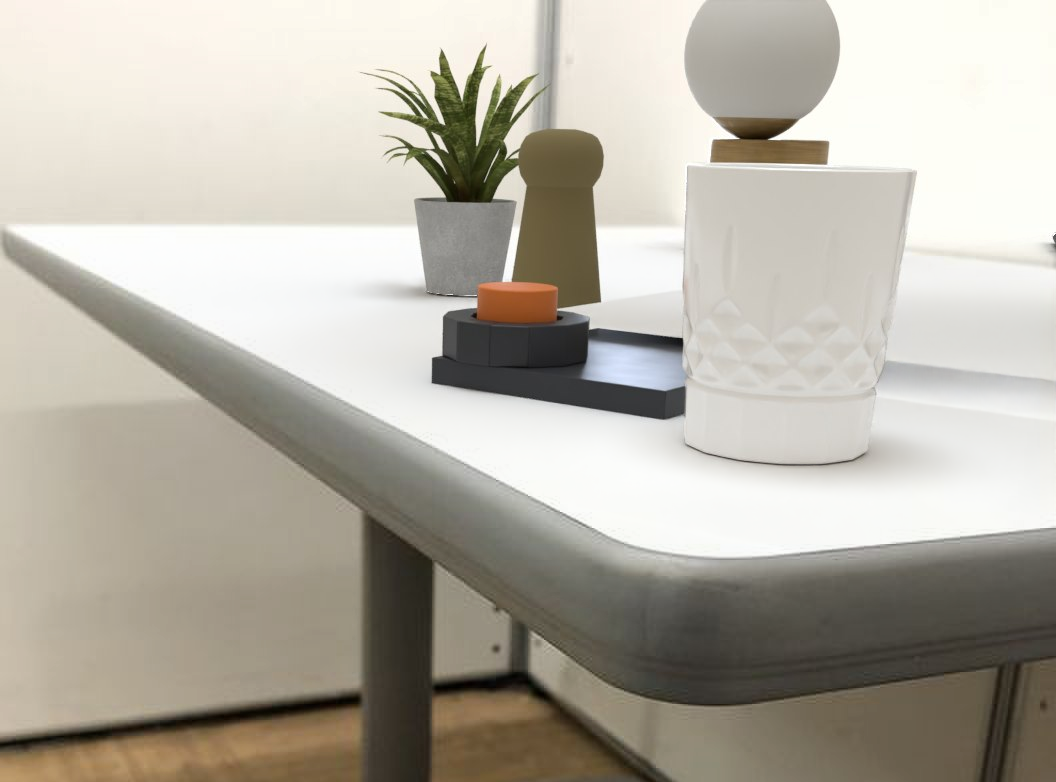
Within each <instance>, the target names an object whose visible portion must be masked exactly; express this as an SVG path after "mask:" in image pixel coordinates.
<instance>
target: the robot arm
mask: <svg viewBox="0 0 1056 782" xmlns="http://www.w3.org/2000/svg"><path fill="white" fill-rule="evenodd" d="M1052 240H1053V242H1054V244H1055V245H1056V234H1055V235H1054V236H1053V235H1052Z"/></svg>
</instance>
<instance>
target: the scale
mask: <svg viewBox="0 0 1056 782" xmlns="http://www.w3.org/2000/svg"><path fill="white" fill-rule="evenodd" d="M590 322H591V318H590V316H588V315H585V314H581V313H578V312H573V311H567V310H566V311H564V310H559V309H557V321H552V322H532V323H517V322H498V321H490V320H481V319H477V307H469V308H462V309H456V310H455V309H454V310H449V311H447V312H446V313H444V315H443V316H442V347H441V348H442V350H441V355H438V356H432V357H431V384H434V385H439V386H448V387H453V388H459V389H465V390H471V391H472V390H473V391H477V392H483V393H484V392H485V393H490V394H497V395H503V396H509V397H510V396H511V397H516V398H522V397H523V399H528V398H529V399H530V400H535V401H542V402H548V403H555V404H559V405H560V404H562V405H567V406H572V407H573V406H574V407H579V408H586V409H591V410H598V411H605V412H612V413H618V414H624V415H631V416H637V417H642V418H650V419H656V420H661V421H666V420H669V419H672V418H675V417H678V416H684V403H685V378H686V377H687V375H686V373H685V372H684V370H683V368H682V354H683V337H677V336H676V337H675V336H668V335H660V334H651V333H644V332H637V331H635V332H634V331H626V330H618V329H610V328H602V327H601V328H600V327H596V328H595V327H594V328H590Z"/></svg>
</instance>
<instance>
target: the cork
mask: <svg viewBox="0 0 1056 782" xmlns="http://www.w3.org/2000/svg"><path fill="white" fill-rule="evenodd" d="M519 148H520V150H519V152H518V153H517V154H518V155H517V156H518V157H517V158H518V166H517V167H518V170H519V175H520V177H521V178H522V180H523V182H524V184H525V185H526V188H525V194H524V200H523V207H522V213H521V220H520V224H519V225H520V226H519V232H518V238H517V244H516V250H515V257H514V262H513V270H512V277H511V281H510V282H528V283H541V284H548V285H553V286H556V287H557V288H558V301H557V310H559V309H566V308H572V307H579V306H585V305H593V304H599V303H602V296H601V295H602V293H601V281H600V280H601V279H600V265H599V254H598V253H599V251H598V240H597V225H596V211H595V195H594V186H595V185H596V183H597V182H598V181H599V179H600V178H601V176H602V172H603V169H604V162H605V161H604V159H605V154H604V149H603V145H602V143H601V141H600V139H599V138H598V137H597V136H596V135H595V134H593V133H591V132H587V131H584V130H580V129H576V128H575V129H574V128H546V129H545V128H544V129H541V130H537V131H536V130H535V131H533V132H530V133H528V134H527V135H526V136H525V137H524V139H523V140H522V142H521V144H520V146H519Z"/></svg>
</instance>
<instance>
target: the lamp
mask: <svg viewBox="0 0 1056 782" xmlns="http://www.w3.org/2000/svg"><path fill="white" fill-rule="evenodd" d="M683 52H684V53H683V64H684V66H683V67H684V72H685V78H686V81H687V85H688V87H689V90H690V92H691V94H692V96H693V99H694V101H696V103H697V105H698V106H699V108H701V110H702V111H703V112H704V113H705V114H707V115H708V116H709V117H711V120H712V121H713V123H715V124H716V125H717V126H718V127H719V128H720V129H721V130H723V132H725V133H727V134H728V135H730V136H731V137H711V138H710V139H709V147H708V148H709V150H708V162H707V163H777V164H815V165H828V161H829V153H830V152H829V151H830V141H829V140H821V139H820V140H819V139H787V138H786V139H784V138H776V137H778V136H780V135H782V134H783V133H785V132H786V131H788V130H790V129H792V127H794V126H795V125H796V124H798V122H799V121H800V120H801V119H803V118H805V117H806V116H808V115H809V114H810V113H812V112H813V111H814V110H815V108H817V106H819V104H820V103H821V102H822V101H823V99H824V98H825V96H826V95H827V93H828V92H829V90H830V88H831V86H832V84H833V82H834V79H835V76H836V74H837V70H838V67H839V62H840V56H841V37H840V31H839V25H838V21H837V19H836V16H835V14H834V12H833V10H832V8H831V6H830V4H829V3H828V1H827V0H704V2H703V3H702V5H700V7H699V8H698V10H697V12H696V13H695V15H694V17H693V19H692V21H691V24H690V26H689V29H688V31H687V35H686V39H685V45H684V51H683Z"/></svg>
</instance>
